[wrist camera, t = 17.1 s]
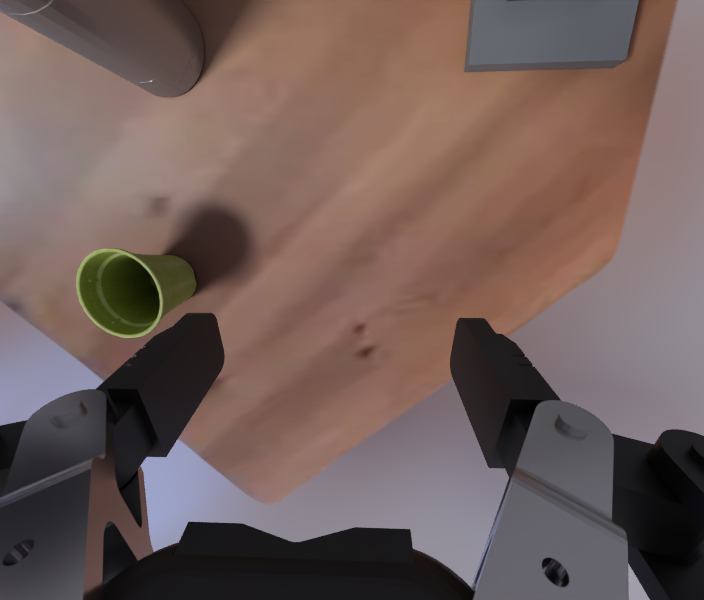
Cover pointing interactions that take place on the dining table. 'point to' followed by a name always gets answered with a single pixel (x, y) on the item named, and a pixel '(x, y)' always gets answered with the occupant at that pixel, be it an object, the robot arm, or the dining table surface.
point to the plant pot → (132, 289)
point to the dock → (548, 34)
